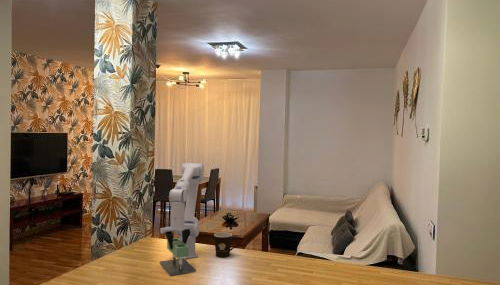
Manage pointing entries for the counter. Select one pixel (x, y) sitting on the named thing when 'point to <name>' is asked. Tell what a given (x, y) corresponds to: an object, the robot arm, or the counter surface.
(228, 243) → the coffee mug
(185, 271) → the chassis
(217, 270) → the counter surface
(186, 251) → the green block with holes
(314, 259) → the counter surface
